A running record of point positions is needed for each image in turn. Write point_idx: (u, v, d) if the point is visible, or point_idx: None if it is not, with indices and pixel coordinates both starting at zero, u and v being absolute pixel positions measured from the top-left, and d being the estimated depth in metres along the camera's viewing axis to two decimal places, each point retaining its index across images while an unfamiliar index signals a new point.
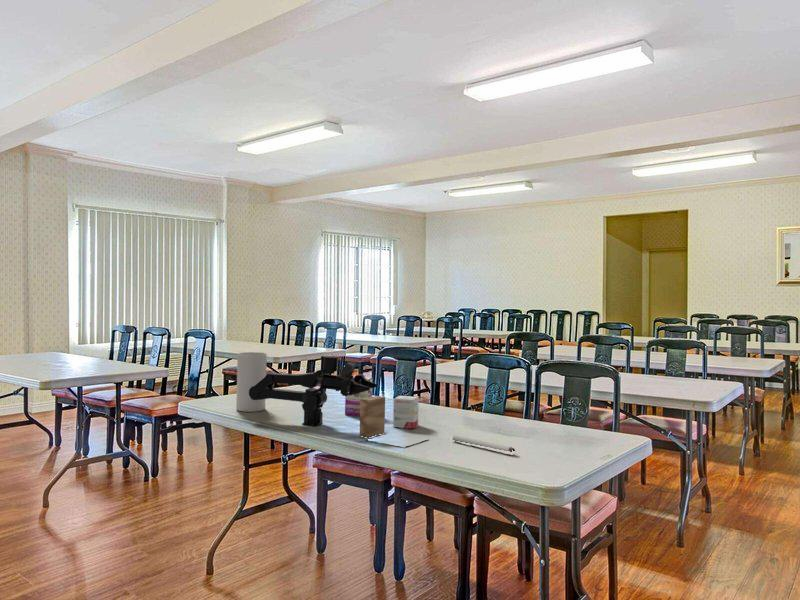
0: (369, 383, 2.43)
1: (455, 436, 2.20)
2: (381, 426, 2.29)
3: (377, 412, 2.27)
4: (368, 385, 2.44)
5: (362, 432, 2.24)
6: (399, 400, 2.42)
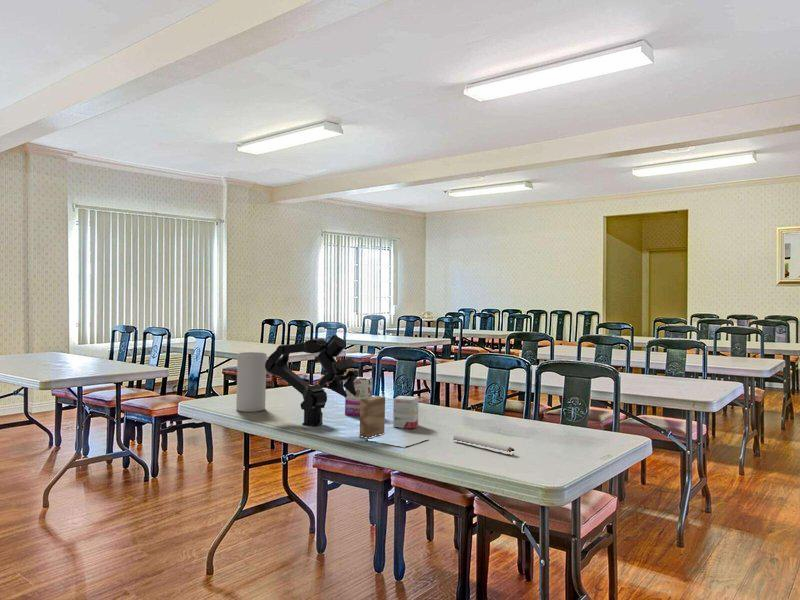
0: (351, 387, 2.37)
1: (456, 436, 2.21)
2: (381, 426, 2.29)
3: (377, 412, 2.27)
4: (350, 388, 2.38)
5: (362, 432, 2.24)
6: (399, 400, 2.42)
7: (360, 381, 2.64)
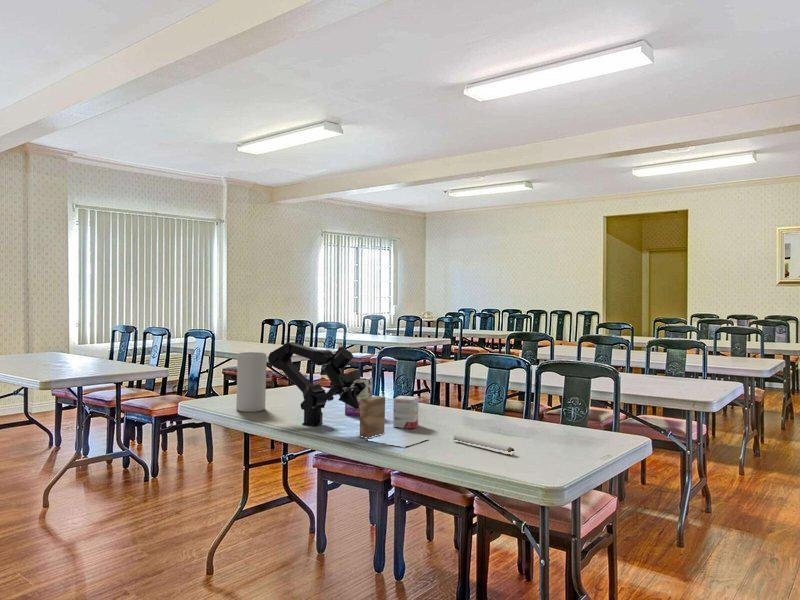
0: None
1: (456, 436, 2.21)
2: (381, 426, 2.29)
3: (377, 412, 2.27)
4: None
5: (362, 432, 2.24)
6: (399, 400, 2.42)
7: (360, 381, 2.64)
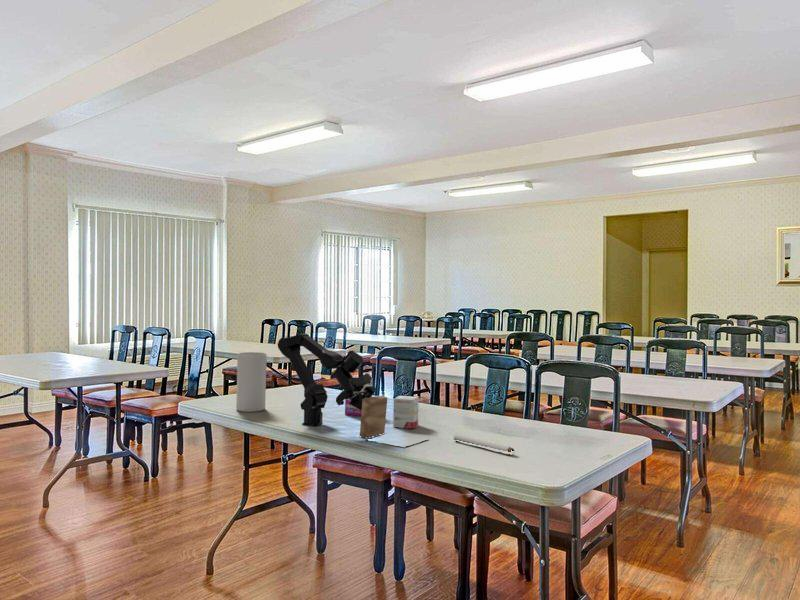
0: None
1: (456, 435, 2.21)
2: (382, 426, 2.29)
3: (379, 413, 2.27)
4: None
5: (363, 432, 2.24)
6: (399, 400, 2.42)
7: None
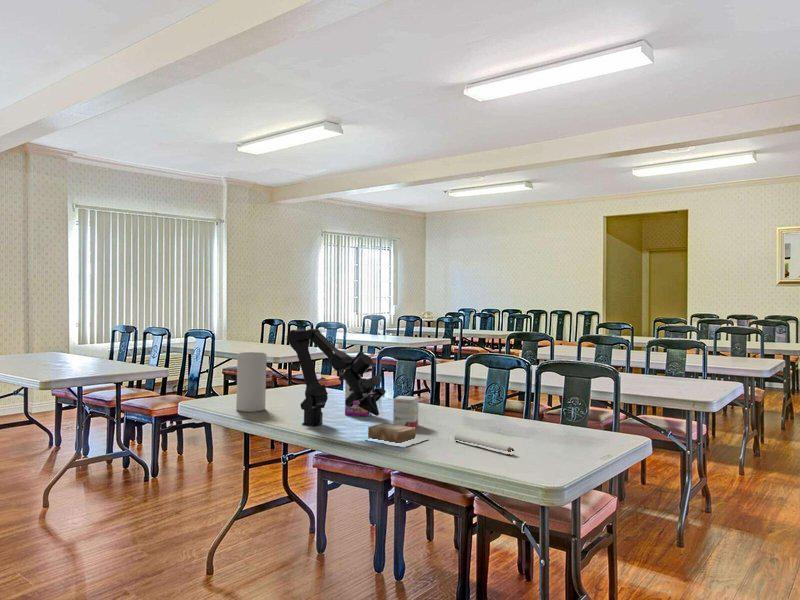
0: None
1: (457, 435, 2.21)
2: None
3: None
4: None
5: (372, 431, 2.22)
6: (399, 400, 2.42)
7: None
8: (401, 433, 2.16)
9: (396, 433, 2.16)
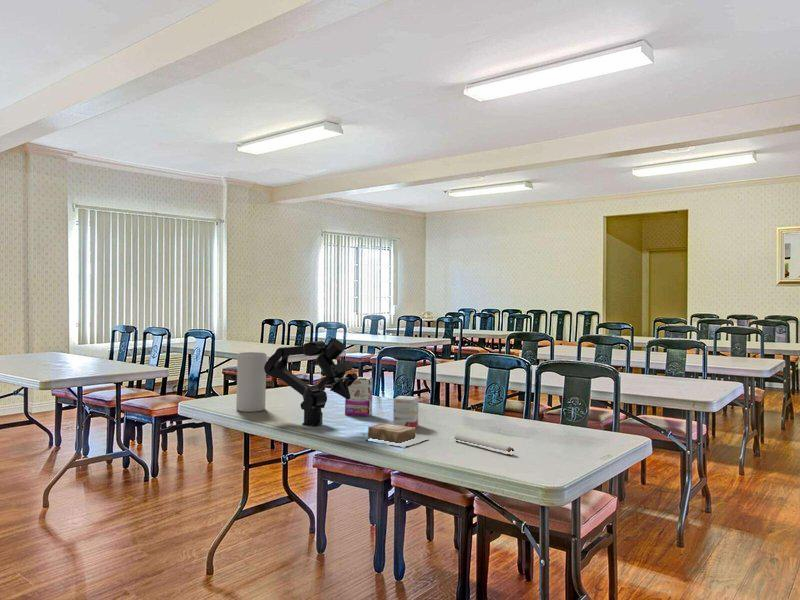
0: None
1: (457, 435, 2.21)
2: None
3: None
4: None
5: (372, 431, 2.22)
6: (399, 400, 2.42)
7: (360, 381, 2.64)
8: (401, 433, 2.16)
9: (396, 433, 2.16)
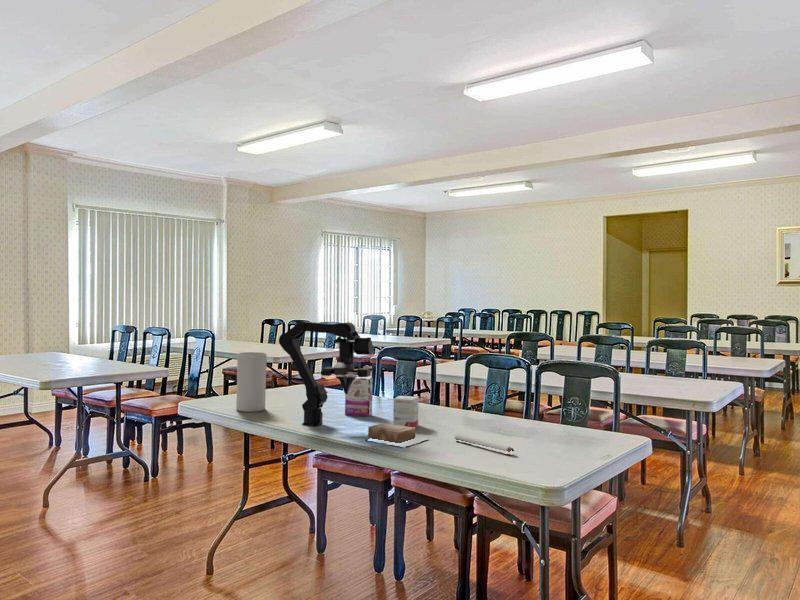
0: None
1: (457, 435, 2.21)
2: None
3: None
4: None
5: (372, 431, 2.22)
6: (399, 400, 2.42)
7: (360, 381, 2.64)
8: (401, 433, 2.16)
9: (396, 433, 2.16)
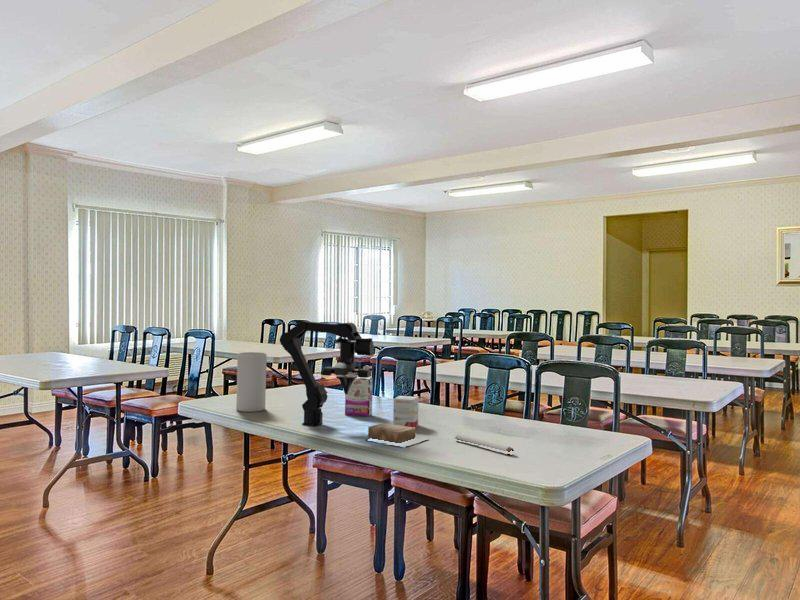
0: None
1: (457, 435, 2.22)
2: None
3: None
4: None
5: (372, 431, 2.22)
6: (399, 400, 2.42)
7: (360, 381, 2.64)
8: (401, 433, 2.16)
9: (396, 433, 2.16)
